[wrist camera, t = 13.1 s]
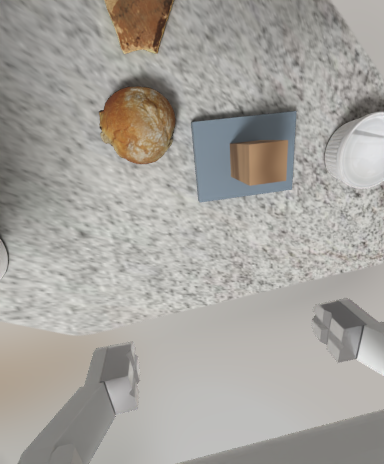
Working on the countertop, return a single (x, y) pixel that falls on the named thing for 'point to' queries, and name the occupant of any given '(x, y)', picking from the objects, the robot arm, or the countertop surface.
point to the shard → (139, 22)
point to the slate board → (218, 152)
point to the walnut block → (259, 161)
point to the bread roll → (138, 124)
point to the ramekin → (358, 152)
